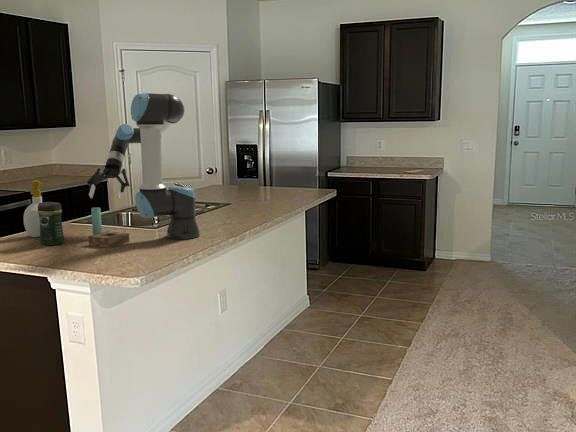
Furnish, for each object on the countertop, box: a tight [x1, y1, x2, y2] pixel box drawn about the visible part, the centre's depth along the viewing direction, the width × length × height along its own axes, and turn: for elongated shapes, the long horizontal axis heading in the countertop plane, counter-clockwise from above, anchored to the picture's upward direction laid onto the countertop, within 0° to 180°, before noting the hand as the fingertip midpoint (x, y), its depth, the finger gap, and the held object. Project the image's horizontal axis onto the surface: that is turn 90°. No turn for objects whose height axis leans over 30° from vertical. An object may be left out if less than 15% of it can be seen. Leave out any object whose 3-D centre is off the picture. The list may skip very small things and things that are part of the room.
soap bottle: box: [23, 179, 43, 238], centre depth 261 cm, size 14×9×26 cm, turn 146°
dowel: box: [90, 207, 103, 235], centre depth 257 cm, size 4×4×14 cm
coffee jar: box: [38, 201, 65, 246], centre depth 246 cm, size 10×8×19 cm
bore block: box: [87, 230, 130, 249], centre depth 247 cm, size 12×12×4 cm
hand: (104, 196), depth 266 cm, fingers open, 13 cm apart
